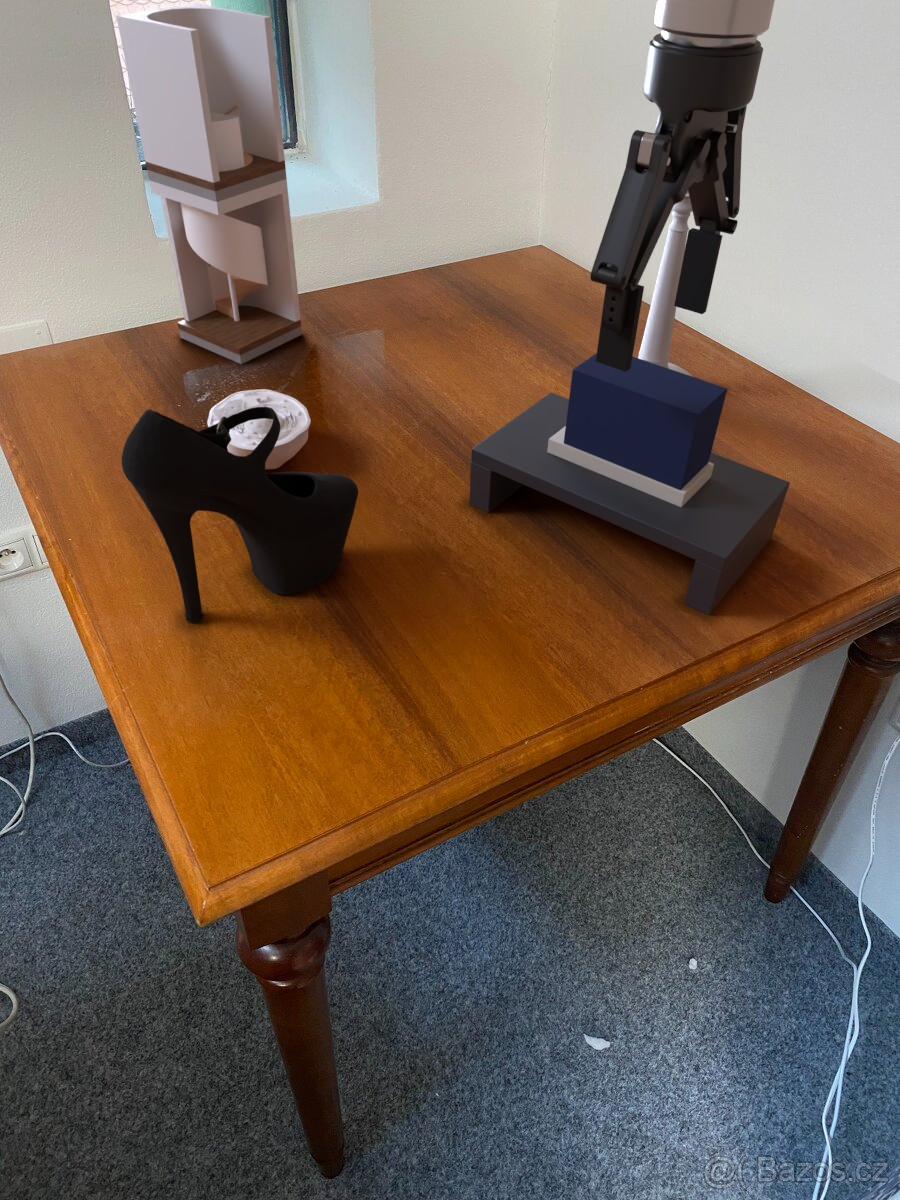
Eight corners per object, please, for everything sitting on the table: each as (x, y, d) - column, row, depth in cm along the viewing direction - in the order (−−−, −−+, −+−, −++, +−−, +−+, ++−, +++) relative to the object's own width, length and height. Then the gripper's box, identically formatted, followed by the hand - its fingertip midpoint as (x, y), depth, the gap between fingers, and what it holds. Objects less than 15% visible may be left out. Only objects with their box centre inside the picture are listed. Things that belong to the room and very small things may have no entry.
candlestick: (590, 363, 110) (628, 94, 90) (693, 367, 110) (754, 99, 90) (597, 415, 101) (641, 128, 80) (709, 421, 100) (781, 133, 80)
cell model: (296, 420, 99) (289, 365, 94) (325, 478, 90) (320, 420, 86) (205, 437, 96) (194, 381, 91) (226, 498, 87) (216, 439, 83)
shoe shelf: (771, 537, 84) (790, 481, 80) (708, 615, 76) (726, 558, 72) (545, 445, 96) (550, 391, 91) (468, 504, 87) (471, 448, 83)
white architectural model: (180, 337, 113) (116, 15, 90) (241, 310, 119) (197, 3, 96) (241, 364, 108) (190, 30, 85) (302, 334, 114) (270, 16, 91)
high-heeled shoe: (378, 562, 80) (368, 362, 67) (190, 656, 71) (135, 446, 58) (329, 521, 85) (310, 326, 71) (146, 605, 76) (85, 398, 62)
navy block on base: (710, 477, 80) (734, 389, 74) (681, 507, 77) (703, 417, 71) (580, 426, 86) (591, 341, 80) (547, 452, 83) (556, 365, 77)
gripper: (732, 6, 68) (680, 278, 82) (560, 55, 53) (533, 377, 67) (828, 18, 64) (756, 299, 78) (673, 73, 49) (619, 408, 64)
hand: (653, 335), depth 73 cm, fingers open, 13 cm apart
